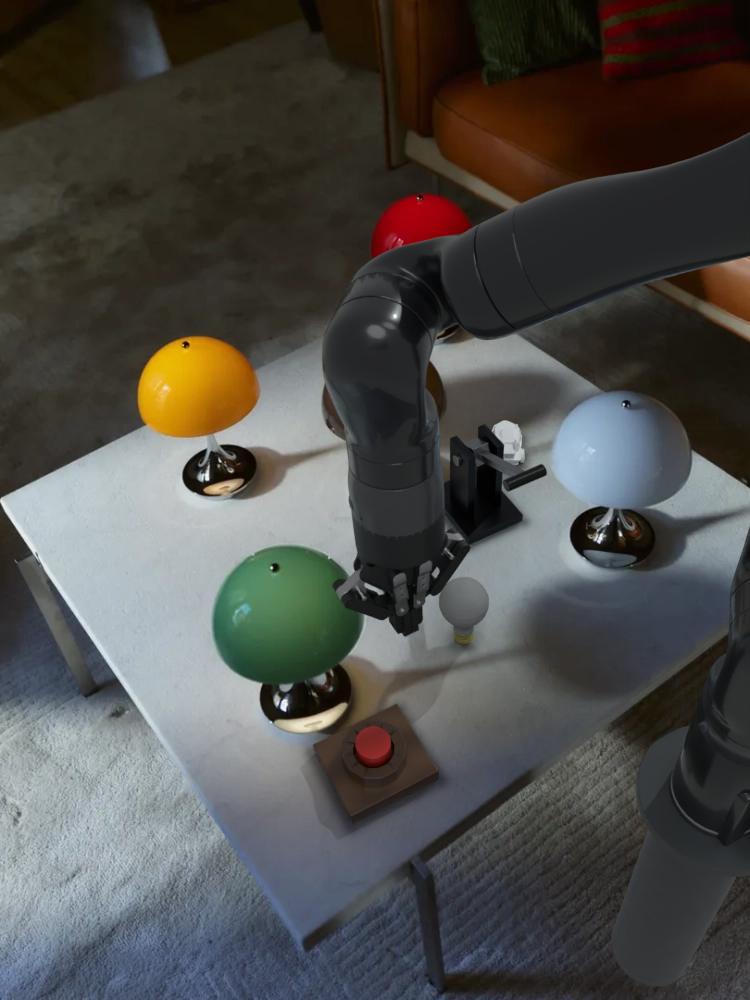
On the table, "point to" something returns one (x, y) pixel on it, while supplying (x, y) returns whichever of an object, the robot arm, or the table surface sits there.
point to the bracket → (477, 491)
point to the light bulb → (463, 606)
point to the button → (373, 746)
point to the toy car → (510, 441)
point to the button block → (382, 784)
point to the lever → (504, 466)
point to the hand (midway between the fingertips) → (406, 627)
